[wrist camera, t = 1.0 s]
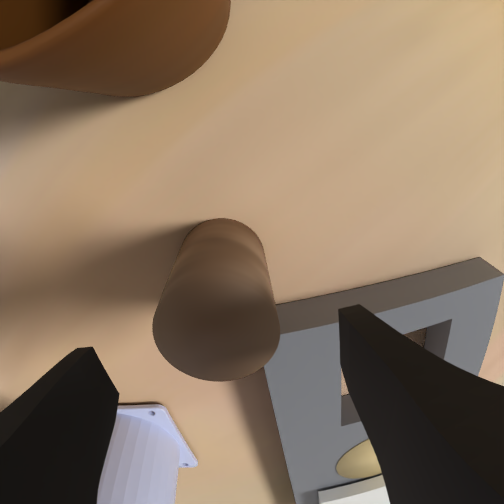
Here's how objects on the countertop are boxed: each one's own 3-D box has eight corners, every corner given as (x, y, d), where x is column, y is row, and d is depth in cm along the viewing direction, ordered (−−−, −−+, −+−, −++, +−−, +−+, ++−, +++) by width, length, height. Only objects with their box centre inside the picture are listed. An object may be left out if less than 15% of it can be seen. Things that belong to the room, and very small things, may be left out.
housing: (297, 501, 26) (300, 521, 24) (254, 308, 16) (257, 340, 14) (419, 467, 26) (427, 485, 24) (480, 257, 16) (505, 275, 14)
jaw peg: (192, 301, 16) (175, 387, 11) (170, 228, 15) (134, 291, 9) (270, 288, 16) (287, 371, 11) (256, 210, 15) (269, 267, 9)
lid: (320, 520, 24) (323, 537, 22) (318, 491, 20) (322, 513, 18) (410, 494, 24) (415, 509, 22) (429, 457, 20) (438, 476, 18)
